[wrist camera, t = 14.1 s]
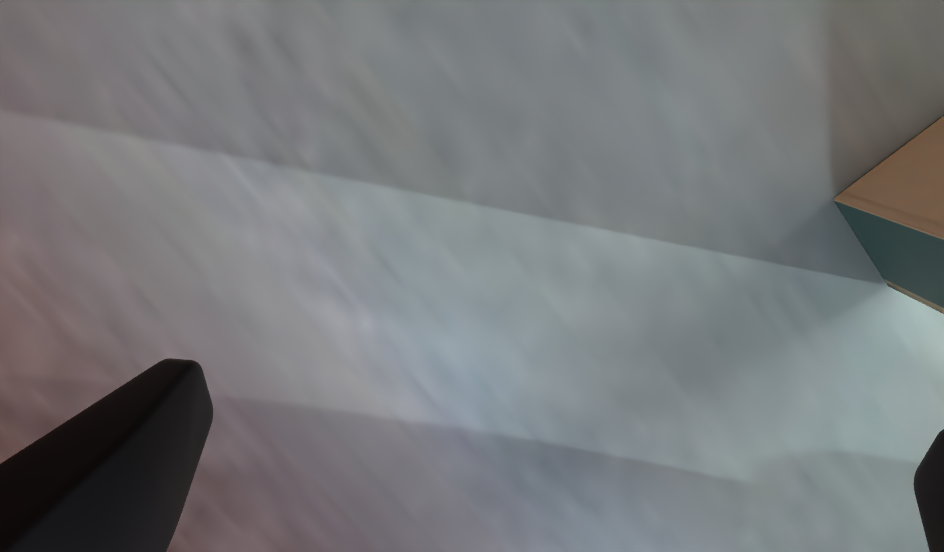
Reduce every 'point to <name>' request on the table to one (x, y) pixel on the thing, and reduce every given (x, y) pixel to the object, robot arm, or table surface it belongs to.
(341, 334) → the table surface
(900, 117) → the table surface
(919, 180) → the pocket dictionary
